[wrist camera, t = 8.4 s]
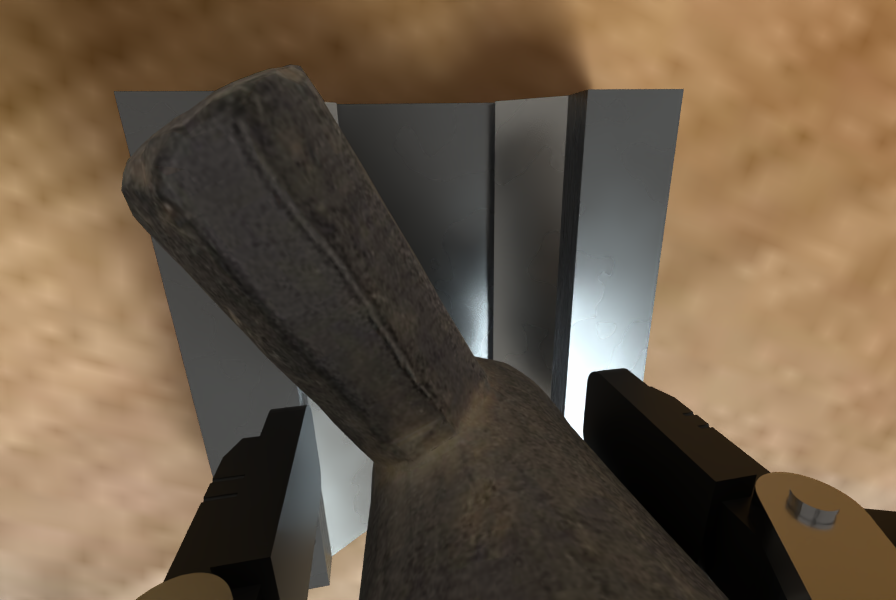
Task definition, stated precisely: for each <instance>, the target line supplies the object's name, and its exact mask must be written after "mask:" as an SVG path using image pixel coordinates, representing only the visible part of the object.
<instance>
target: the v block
mask: <svg viewBox="0 0 896 600" xmlns="http://www.w3.org/2000/svg"><path fill="white" fill-rule="evenodd" d="M683 90H684V89H607V90H585V91H582V92H579V93H575V94H572V95H569V96H557V97H544V98H532V99H519V100H507V101H495V103H421V104H336V103H332V102H325V104H326V106H327V107H328V109H329V111H330V112H331V114H332V116H333V117H334V119H335V121H336V122H337V124H338V126H339V127H340V129H341V131H342V133H343V134H344V136H345V138H346V139H347V141H348V143H349V144H350V146H351V147H352V149H353V151H354V152H355V154H356V156H357V157H358V159H359V161H360V162H361V164H362V166H363V167H364V169H365V171H366V172H367V174H368V176H369V178H370V179H371V181H372V183H373V184H374V186H375V188H376V190H377V191H378V193H379V195H380V197H381V198H382V200H383V202H384V203H385V205H386V207H387V209H388V210H389V212H390V214H391V215H392V217H393V219H394V220H395V222H396V224H397V225H398V227H399V229H400V230H401V232H402V234H403V235H404V237H405V239H406V240H407V242H408V244H409V245H410V247H411V249H412V250H413V252H414V254H415V255H416V257H417V259H418V261H419V262H420V264H421V266H422V268H423V269H424V271H425V273H426V275H427V276H428V278H429V280H430V282H431V283H432V285H433V287H434V289H435V291H436V293H437V295H438V297H439V299H440V300H441V302H442V303H443V305H444V307H445V308H446V310H447V312H448V313H449V315H450V317H451V318H452V320H453V322H454V323H455V325H456V326H457V328H458V330H459V331H460V333H461V335H462V336H463V338H464V340H465V341H466V343H467V345H468V346H469V348H470V350H471V351H472V353H473V355H474V356H475V357H481V358H486V359H490V360H496V361H500V362H504V363H507V364H509V365H510V366H512V367H514V368H516V369H517V370H519V371H520V372H522V373H523V374H525V375H526V376H527V377H529V378H530V379H532V380H533V381H534V382H535V383H536V384H537V385H538V386H539V387H540V388H541V389H542V390H543V391H544V392H545V393H546V394H547V395H548V397H549V398H550V399H551V400H552V402H553V403H554V404H555V405H556V407H557V408H558V409H559V410H560V412H561V413H562V414H563V416H564V417H565V418H566V420H567V421H568V423H569V424H570V425H571V426H572V427H573V428H574V430H575V431H576V432H577V433H578V434H579V435H580V437H581V438H582V439H583V421H584V410H585V399H586V387H587V379H588V376H589V374H590V373H591V372H593V371H601V370H609V369H618V368H626V369H628V370H629V371H631V372H632V373H633V374H634V375H635V376H637V377H638V378H639V379H640V380H642V381H643V377H644V370H645V363H646V356H647V349H648V341H649V334H650V327H651V320H652V313H653V306H654V298H655V291H656V284H657V277H658V270H659V262H660V255H661V248H662V241H663V234H664V226H665V219H666V212H667V205H668V198H669V191H670V183H671V176H672V169H673V162H674V155H675V147H676V140H677V133H678V126H679V119H680V111H681V104H682V97H683ZM213 92H214V91H114V95H115V98H116V102H117V106H118V110H119V114H120V118H121V122H122V126H123V129H124V133H125V137H126V141H127V145H128V149H129V153H130V157H131V156H132V155H133V154H134V153H135V152H136V150H137V149H138V148H139V147H140V146H141V145H142V144H143V143H144V142H145V141H146V140H148V139H149V138H150V137H151V136H152V135H153V134H155V133H156V132H157V131H159V130H160V129H161V128H162V127H164V126H165V125H166V124H168V123H169V122H170V121H172V120H173V119H174V118H176V117H177V116H179V115H181V114H183V113H185V112H187V111H188V110H190V109H191V108H192V107H194V106H195V105H196V104H198V103H199V102H201V101H202V100H203V99H205V98H206V97H207V96H209V95H210V94H211V93H213ZM151 238H152V242H153V246H154V250H155V254H156V258H157V262H158V265H159V269H160V273H161V277H162V281H163V285H164V289H165V293H166V297H167V300H168V304H169V308H170V312H171V316H172V320H173V324H174V328H175V332H176V335H177V339H178V343H179V347H180V351H181V355H182V359H183V363H184V366H185V370H186V374H187V378H188V382H189V386H190V390H191V394H192V398H193V401H194V405H195V409H196V413H197V417H198V421H199V425H200V429H201V433H202V436H203V440H204V444H205V448H206V452H207V456H208V460H209V464H210V468H211V471H212V475H213V477H214V475H215V473H216V471H217V468H218V466H219V464H220V462H221V460H222V458H223V457H224V456H225V455H226V454H227V453H228V452H229V451H230V450H231V449H232V448H233V447H234V446H235V445H236V444H237V443H238V442H239V441H240V440H241V439H242V438H248V437H256V436H260V434H261V432H262V429H263V426H264V424H265V421H266V418H267V416H268V413H269V411H270V410H271V409H276V408H285V407H293V406H301V405H309V406H310V408H311V411H312V416H313V423H314V429H315V436H316V442H317V449H318V455H319V462H320V470H321V499H320V507H319V514H318V522H317V529H316V537H315V544H314V552H313V559H312V567H311V575H310V582H309V589H312V588H317V587H323V586H328V585H330V574H331V562H332V556H333V555H334V554H335V553H337V552H338V551H339V550H341V549H342V548H344V547H345V546H346V545H348V544H349V543H350V542H352V541H353V540H354V539H356V538H357V537H358V536H360V535H361V534H363V533H364V532H365V531H367V526H368V518H369V511H370V503H371V482H372V468H373V461H372V460H371V459H370V458H369V457H368V456H367V455H366V454H365V453H364V452H362V451H361V450H360V449H359V448H358V447H357V446H356V445H355V444H354V443H353V442H352V441H351V440H350V439H349V438H348V437H347V436H346V435H345V434H344V433H343V432H342V431H341V430H340V429H339V428H338V427H337V426H336V425H335V424H334V423H333V422H332V421H331V420H330V418H329V417H328V416H327V415H326V414H325V413H324V412H323V411H322V410H321V408H320V407H319V406H318V405H317V404H316V403H315V402H314V401H312V400H311V399H310V398H309V397H308V396H307V395H306V394H305V393H304V392H302V391H301V390H300V389H299V388H298V387H297V386H296V385H295V384H294V383H293V382H292V381H291V380H290V379H289V378H288V377H287V376H286V375H285V374H284V373H283V372H281V371H280V370H279V369H278V368H277V367H276V366H275V365H274V364H273V363H272V362H271V361H270V360H269V359H268V358H267V357H266V356H265V355H264V354H263V353H262V352H261V351H260V350H259V349H258V348H257V347H256V345H255V344H254V343H253V342H252V341H251V340H250V339H249V338H248V337H247V336H246V335H245V333H244V332H243V331H242V330H241V329H240V328H239V327H238V326H237V325H236V324H235V323H234V322H233V321H232V320H231V319H230V318H229V317H228V316H227V315H226V314H225V313H224V312H223V311H222V310H221V309H220V308H219V306H218V305H217V304H216V303H215V302H214V301H213V300H212V299H211V298H210V297H209V296H208V295H207V294H206V293H205V292H204V291H203V289H202V288H201V287H200V286H199V285H198V284H197V283H196V282H195V281H194V280H193V279H192V278H191V277H190V276H189V274H188V273H187V272H186V271H185V270H184V269H183V268H182V267H181V266H180V265H179V264H178V263H177V262H176V261H175V260H174V259H173V258H172V257H171V256H170V255H169V254H168V253H167V252H166V251H165V250H164V249H163V248H162V247H161V246H160V245H159V244H158V243H157V242H156V240H155V239H154V238H153V237H152V236H151ZM583 440H584V439H583Z"/></svg>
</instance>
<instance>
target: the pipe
mask: <svg viewBox="0 0 896 600" xmlns="http://www.w3.org/2000/svg"><path fill="white" fill-rule="evenodd" d="M122 193H123V195H124V197H125V199H126V201H127V203H128V206H129V208H130V210H131V212H132V214H133V216H134V217H135V219H136V220H137V221H138V222H139V223H140V224H141V225H142V226H143V227H144V228H145V229H146V231H147V232H148V233H149V234H150V235H151V236H152V237H153V238H154V239H155V240H156V242H157V243H158V244H159V245H160V246H161V247H162V248H163V249H164V250H165V251H166V252H167V253H168V254H169V255H170V256H171V257H172V258H173V259H174V260H175V261H176V262H177V263H178V264H179V265H180V266H181V267H182V268H183V269H184V270H185V271H186V272H187V273H188V274H189V276H190V277H191V278H192V279H193V280H194V281H195V282H196V283H197V284H198V285H199V286H200V287H201V288H202V289H203V291H204V292H205V293H206V294H207V295H208V296H209V297H210V298H211V299H212V300H213V301H214V302H215V303H216V304H217V305H218V306H219V308H220V309H221V310H222V311H223V312H224V313H225V314H226V315H227V316H228V317H229V318H230V319H231V320H232V321H233V322H234V323H235V324H236V325H237V326H238V327H239V328H240V329H241V330H242V331H243V332H244V333H245V335H246V336H247V337H248V338H249V339H250V340H251V341H252V342H253V343H254V344H255V345H256V347H257V348H258V349H259V350H260V351H261V352H262V353H263V354H264V355H265V356H266V357H267V358H268V359H269V360H270V361H271V362H272V363H273V364H274V365H275V366H276V367H277V368H278V369H279V370H280V371H281V372H283V373H284V374H285V375H286V376H287V377H288V378H289V379H290V380H291V381H292V382H293V383H294V384H295V385H296V386H297V387H298V388H299V389H300V390H301V391H302V392H304V393H305V394H306V395H307V396H308V397H309V398H310V399H311V400H312V401H314V402H315V403H316V404H317V405H318V406H319V407H320V408H321V410H322V411H323V412H324V413H325V414H326V415H327V416H328V417H329V418H330V420H331V421H332V422H333V423H334V424H335V425H336V426H337V427H338V428H339V429H340V430H341V431H342V432H343V433H344V434H345V435H346V436H347V437H348V438H349V439H350V440H351V441H352V442H353V443H354V444H355V445H356V446H357V447H358V448H359V449H360V450H361V451H362V452H364V453H365V454H366V455H367V456H368V457H369V458H370V459H371V460H372V461H373V468H372V482H371V503H370V511H369V518H368V526H367V535H366V544H365V552H364V561H363V570H362V579H361V587H360V595H359V600H729V599H728V598H727V597H726V596H725V594H724V593H723V592H722V591H721V590H720V589H719V588H718V587H717V586H716V585H715V584H714V583H713V582H712V580H711V579H710V578H709V577H708V576H707V575H706V574H705V573H704V572H703V571H702V570H701V569H700V568H699V566H698V565H697V564H696V563H695V562H694V561H693V560H692V559H691V558H690V557H689V556H688V555H687V554H686V552H685V551H684V550H683V549H682V548H681V547H680V546H679V545H678V544H677V543H676V542H675V541H674V540H673V538H672V537H671V536H670V535H669V534H668V533H667V532H666V531H665V530H664V529H663V528H662V527H661V526H660V525H659V523H658V522H657V521H656V520H655V519H654V518H653V517H652V516H651V515H650V514H649V512H648V511H647V510H646V509H645V508H644V507H643V506H642V505H641V504H640V503H639V502H638V500H637V499H636V498H635V497H634V496H633V495H632V494H631V493H630V492H629V491H628V489H627V488H626V487H625V486H624V485H623V484H622V483H621V482H620V481H619V480H618V478H617V477H616V476H615V475H614V474H613V473H612V472H611V471H610V470H609V468H608V467H607V466H606V465H605V464H604V463H603V461H602V460H601V459H600V458H599V457H598V456H597V454H596V453H595V452H594V451H593V450H592V449H591V448H590V447H589V446H588V444H587V443H586V442H585V441H584V440H583V439H582V438H581V437H580V435H579V434H578V433H577V432H576V431H575V430H574V428H573V427H572V426H571V425H570V424H569V423H568V421H567V420H566V418H565V417H564V416H563V414H562V413H561V412H560V410H559V409H558V408H557V407H556V405H555V404H554V403H553V402H552V400H551V399H550V398H549V397H548V395H547V394H546V393H545V392H544V391H543V390H542V389H541V388H540V387H539V386H538V385H537V384H536V383H535V382H534V381H533V380H532V379H530V378H529V377H527V376H526V375H525V374H523V373H522V372H520V371H519V370H517V369H516V368H514V367H512V366H510V365H509V364H507V363H504V362H500V361H496V360H490V359H486V358H481V357H475V356H474V355H473V353H472V351H471V350H470V348H469V346H468V345H467V343H466V341H465V340H464V338H463V336H462V335H461V333H460V331H459V330H458V328H457V326H456V325H455V323H454V322H453V320H452V318H451V317H450V315H449V313H448V312H447V310H446V308H445V307H444V305H443V303H442V302H441V300H440V299H439V297H438V295H437V293H436V291H435V289H434V287H433V285H432V283H431V282H430V280H429V278H428V276H427V275H426V273H425V271H424V269H423V268H422V266H421V264H420V262H419V261H418V259H417V257H416V255H415V254H414V252H413V250H412V249H411V247H410V245H409V244H408V242H407V240H406V239H405V237H404V235H403V234H402V232H401V230H400V229H399V227H398V225H397V224H396V222H395V220H394V219H393V217H392V215H391V214H390V212H389V210H388V209H387V207H386V205H385V203H384V202H383V200H382V198H381V197H380V195H379V193H378V191H377V190H376V188H375V186H374V184H373V183H372V181H371V179H370V178H369V176H368V174H367V172H366V171H365V169H364V167H363V166H362V164H361V162H360V161H359V159H358V157H357V156H356V154H355V152H354V151H353V149H352V147H351V146H350V144H349V143H348V141H347V139H346V138H345V136H344V134H343V133H342V131H341V129H340V127H339V126H338V124H337V122H336V121H335V119H334V117H333V116H332V114H331V112H330V111H329V109H328V107H327V106H326V104H325V102H324V100H323V99H322V97H321V95H320V94H319V93H318V91H317V90H316V88H315V87H314V85H313V84H312V82H311V81H310V79H309V78H308V76H307V75H306V74H305V72H304V71H303V69H302V68H301V66H298V65H287V66H284V67H281V68H271V69H267V70H264V71H261V72H258V73H255V74H253V75H250V76H247V77H245V78H242V79H239V80H237V81H234V82H232V83H230V84H228V85H226V86H224V87H222V88H220V89H218V90H216V91H214V92H213V93H211V94H210V95H209V96H207V97H206V98H205V99H203V100H202V101H201V102H199V103H198V104H196V105H195V106H194V107H192V108H191V109H190V110H188V111H187V112H185V113H183V114H181V115H179V116H177V117H176V118H174V119H173V120H172V121H170V122H169V123H168V124H166V125H165V126H164V127H162V128H161V129H160V130H159V131H157V132H156V133H155V134H153V135H152V136H151V137H150V138H149V139H148V140H146V141H145V142H144V143H143V144H142V145H141V146H140V147H139V148H138V149H137V150H136V152H135V153H134V154H133V155H132V156H131V157H130V158H129V159H128V161H127V163H126V167H125V170H124V172H123V179H122Z"/></svg>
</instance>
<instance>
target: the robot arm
mask: <svg viewBox="0 0 896 600" xmlns="http://www.w3.org/2000/svg"><path fill="white" fill-rule="evenodd" d="M583 439H584V441H585V442H586V443H587V444H588V446H589V447H590V448H591V449H592V450H593V451H594V452H595V453H596V454H597V456H598V457H599V458H600V459H601V460H602V461H603V463H604V464H605V465H606V466H607V467H608V468H609V470H610V471H611V472H612V473H613V474H614V475H615V476H616V477H617V478H618V480H619V481H620V482H621V483H622V484H623V485H624V486H625V487H626V488H627V489H628V491H629V492H630V493H631V494H632V495H633V496H634V497H635V498H636V499H637V500H638V502H639V503H640V504H641V505H642V506H643V507H644V508H645V509H646V510H647V511H648V512H649V514H650V515H651V516H652V517H653V518H654V519H655V520H656V521H657V522H658V523H659V525H660V526H661V527H662V528H663V529H664V530H665V531H666V532H667V533H668V534H669V535H670V536H671V537H672V538H673V540H674V541H675V542H676V543H677V544H678V545H679V546H680V547H681V548H682V549H683V550H684V551H685V552H686V554H687V555H688V556H689V557H690V558H691V559H692V560H693V561H694V562H695V563H696V564H697V565H698V566H699V568H700V569H701V570H702V571H703V572H704V573H705V574H706V575H707V576H708V577H709V578H710V579H711V580H712V582H713V583H714V584H715V585H716V586H717V587H718V588H719V589H720V590H721V591H722V592H723V593H724V594H725V596H726V597H727V598H728V599H729V600H896V512H895V511H884V510H874V509H864V508H863V507H861V506H860V505H859V504H858V503H857V502H856V501H854V500H853V499H851V498H850V497H849V496H847V495H846V494H844V493H842V492H841V491H839V490H837V489H835V488H834V487H832V486H830V485H828V484H825V483H823V482H821V481H818V480H815V479H813V478H810V477H806V476H803V475H799V474H794V473H787V472H772V473H770V472H769V471H768V470H767V469H765V468H764V467H763V466H762V465H760V464H759V463H758V462H756V461H755V460H754V459H753V458H751V457H750V456H749V455H747V454H746V453H745V452H744V451H742V450H741V449H740V448H738V447H737V446H736V445H735V444H733V443H732V442H731V441H730V440H728V439H727V438H726V437H724V436H723V435H722V434H721V433H719V432H718V431H717V430H715V429H714V428H713V427H711V428H710V427H709V424H708V423H707V422H705V421H704V420H703V419H701V418H700V417H699V416H698V415H694V414H693V412H692V411H691V410H690V409H689V408H687V407H686V406H685V405H684V404H682V403H681V402H680V401H678V400H677V399H676V398H675V397H672V396H670V395H668V394H666V393H664V392H662V391H659V390H657V389H655V388H653V387H649V386H648V385H647V384H645V383H644V382H643V381H642V380H640V379H639V378H638V377H637V376H635V375H634V374H633V373H632V372H631V371H629V370H628V369H626V368H618V369H609V370H601V371H593V372H591V373H590V374H589V376H588V379H587V387H586V399H585V410H584V421H583ZM320 499H321V470H320V462H319V455H318V449H317V442H316V436H315V429H314V423H313V416H312V411H311V408H310V406H309V405H301V406H293V407H285V408H276V409H271V410H270V411H269V413H268V416H267V418H266V421H265V424H264V426H263V429H262V432H261V434H260V436H256V437H248V438H242V439H241V440H240V441H239V442H238V443H237V444H236V445H235V446H234V447H233V448H232V449H231V450H230V451H229V452H228V453H227V454H226V455H225V456H224V457H223V458H222V460H221V462H220V464H219V466H218V468H217V471H216V473H215V475H214V477H213V482H212V483H210V485H209V487H208V489H207V492H206V494H205V496H204V501H203V502H202V503H201V504H200V506H199V508H198V510H197V512H196V515H195V517H194V519H193V521H192V523H191V525H190V527H189V529H188V531H187V533H186V536H185V538H184V540H183V542H182V544H181V546H180V548H179V550H178V552H177V554H176V557H175V559H174V561H173V563H172V565H171V567H170V569H169V571H168V573H167V575H166V578H165V580H164V582H163V583H161V584H159V585H157V586H155V587H154V588H152V589H150V590H149V591H147V592H146V593H144V594H143V595H141V596H140V597H138V598H137V599H136V600H307V597H308V590H309V582H310V575H311V567H312V559H313V552H314V544H315V537H316V529H317V522H318V514H319V507H320Z"/></svg>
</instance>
